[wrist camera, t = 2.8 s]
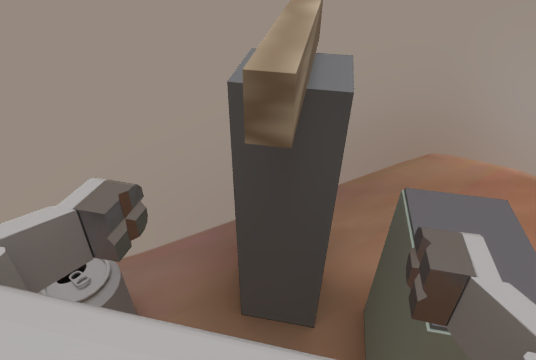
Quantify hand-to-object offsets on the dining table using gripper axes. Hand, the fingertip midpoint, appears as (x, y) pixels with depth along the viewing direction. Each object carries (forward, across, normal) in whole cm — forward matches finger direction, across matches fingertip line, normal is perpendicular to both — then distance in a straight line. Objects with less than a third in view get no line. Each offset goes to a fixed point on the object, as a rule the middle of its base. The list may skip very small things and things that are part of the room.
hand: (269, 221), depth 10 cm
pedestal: (+22, +3, +31) cm, 38 cm away
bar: (+18, +2, +1) cm, 18 cm away
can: (+12, +21, +32) cm, 40 cm away
